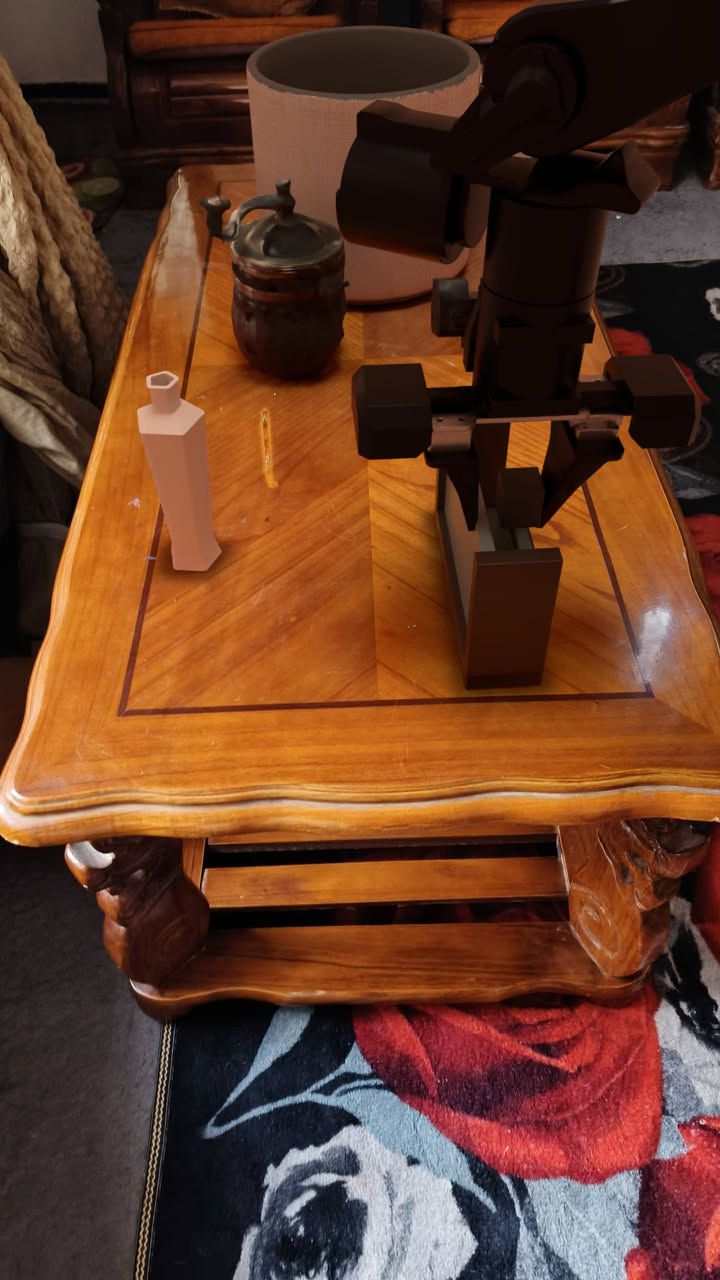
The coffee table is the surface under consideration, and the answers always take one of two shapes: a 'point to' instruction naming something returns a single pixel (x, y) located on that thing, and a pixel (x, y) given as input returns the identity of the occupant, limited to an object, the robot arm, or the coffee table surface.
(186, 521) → the perfume bottle
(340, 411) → the coffee table surface
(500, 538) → the pane
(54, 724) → the coffee table surface
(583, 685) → the coffee table surface
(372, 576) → the coffee table surface
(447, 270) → the planter
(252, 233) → the coffee grinder
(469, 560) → the window frame
